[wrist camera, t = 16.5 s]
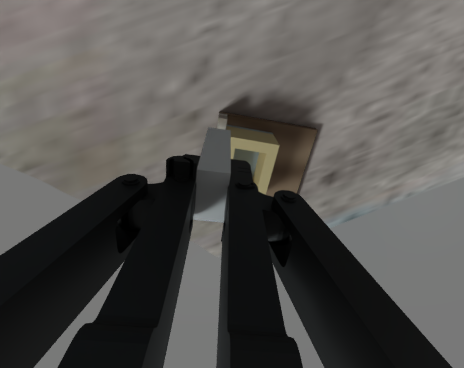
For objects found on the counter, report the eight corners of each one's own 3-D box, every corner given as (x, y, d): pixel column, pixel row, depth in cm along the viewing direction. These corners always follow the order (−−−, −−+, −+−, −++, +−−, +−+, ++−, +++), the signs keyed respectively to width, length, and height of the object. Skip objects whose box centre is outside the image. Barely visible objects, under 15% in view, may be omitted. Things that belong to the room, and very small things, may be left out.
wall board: (219, 111, 37) (218, 118, 33) (315, 128, 39) (325, 136, 34) (208, 187, 43) (206, 200, 39) (291, 199, 44) (298, 213, 40)
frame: (226, 124, 37) (226, 136, 32) (272, 132, 38) (279, 145, 32) (215, 188, 42) (213, 208, 37) (256, 195, 42) (260, 214, 37)
